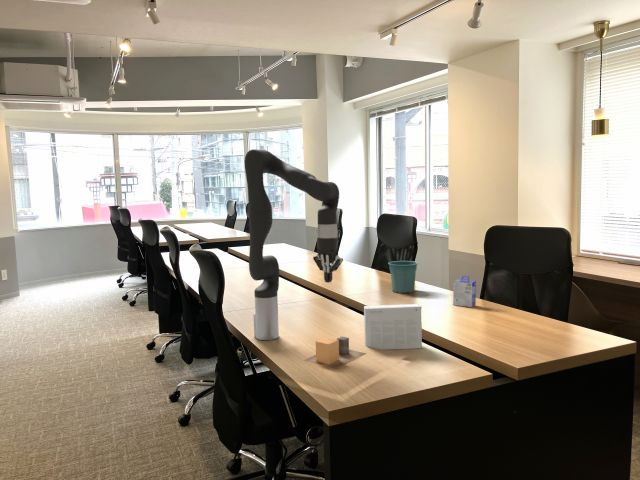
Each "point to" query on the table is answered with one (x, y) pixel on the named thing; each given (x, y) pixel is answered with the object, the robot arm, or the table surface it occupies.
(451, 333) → the table surface
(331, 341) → the peach wooden cube
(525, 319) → the table surface
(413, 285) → the flower pot
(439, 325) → the table surface
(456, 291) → the ink cartridge box
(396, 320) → the skincare box
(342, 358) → the post board
